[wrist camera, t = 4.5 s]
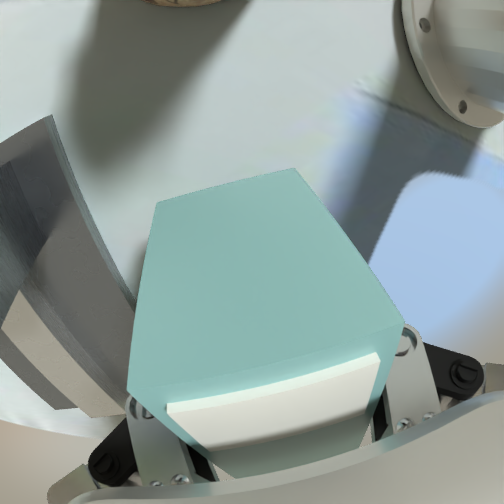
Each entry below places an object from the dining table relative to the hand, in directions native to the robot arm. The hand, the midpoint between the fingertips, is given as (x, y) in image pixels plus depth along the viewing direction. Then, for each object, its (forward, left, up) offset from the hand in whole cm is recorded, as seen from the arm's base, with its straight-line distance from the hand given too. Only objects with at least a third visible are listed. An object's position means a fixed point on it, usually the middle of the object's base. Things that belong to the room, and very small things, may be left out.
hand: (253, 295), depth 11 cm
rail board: (+13, +2, -6) cm, 14 cm away
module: (0, 0, -1) cm, 1 cm away
